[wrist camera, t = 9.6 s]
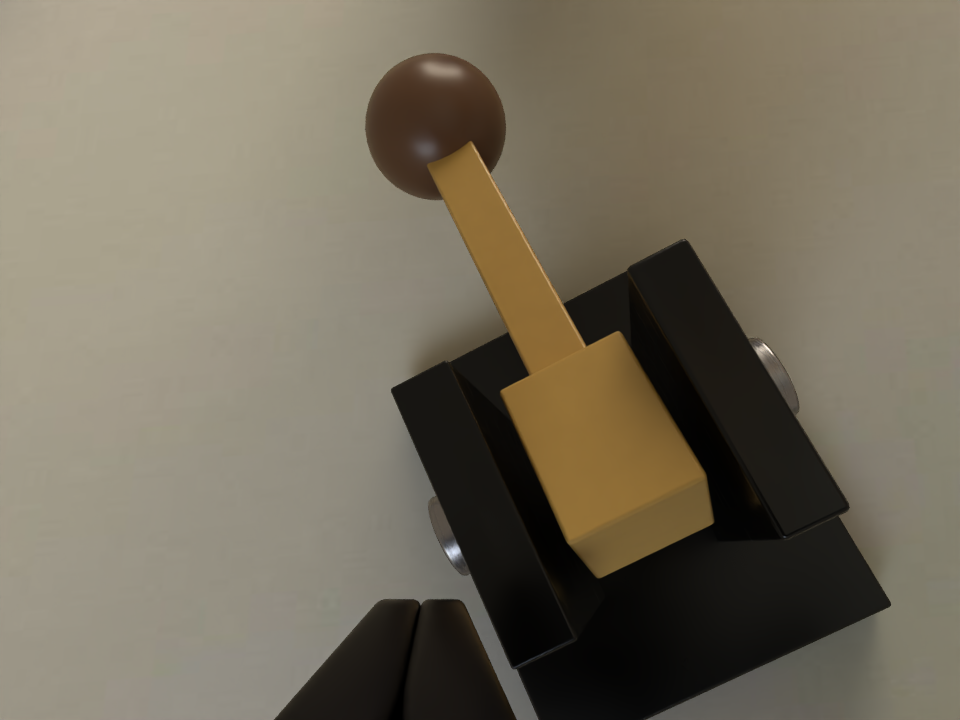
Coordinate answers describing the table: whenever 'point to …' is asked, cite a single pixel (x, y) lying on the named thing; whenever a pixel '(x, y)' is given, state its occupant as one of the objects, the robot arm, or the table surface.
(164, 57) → the table surface
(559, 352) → the rod lever
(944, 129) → the table surface
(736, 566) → the rod bracket
